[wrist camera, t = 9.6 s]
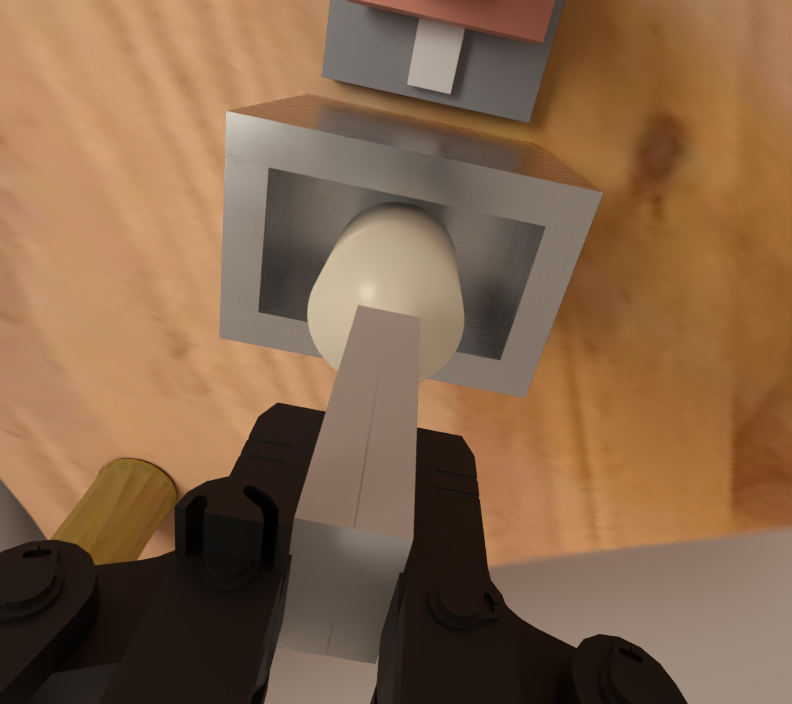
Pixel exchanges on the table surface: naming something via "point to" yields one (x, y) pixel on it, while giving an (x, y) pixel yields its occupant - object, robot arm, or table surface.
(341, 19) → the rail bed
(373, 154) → the grey box holder
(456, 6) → the carriage
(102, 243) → the table surface
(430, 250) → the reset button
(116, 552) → the vase
